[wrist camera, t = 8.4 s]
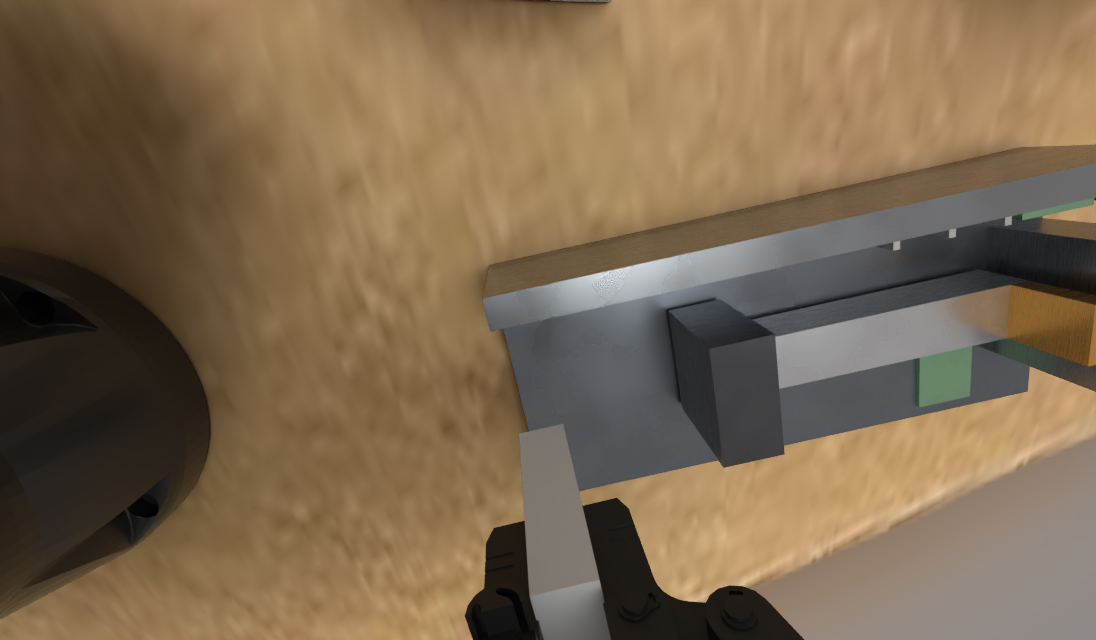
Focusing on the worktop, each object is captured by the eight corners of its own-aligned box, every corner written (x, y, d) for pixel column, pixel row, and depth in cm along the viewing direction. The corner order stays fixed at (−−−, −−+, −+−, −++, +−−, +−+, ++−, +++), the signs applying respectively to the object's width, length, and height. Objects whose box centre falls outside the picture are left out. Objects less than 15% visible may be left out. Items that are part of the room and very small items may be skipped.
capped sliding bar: (682, 408, 24) (730, 476, 19) (668, 310, 23) (715, 354, 17) (974, 343, 24) (1105, 393, 19) (979, 241, 23) (1122, 264, 17)
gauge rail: (544, 484, 27) (555, 594, 20) (489, 265, 23) (479, 306, 16) (1005, 381, 27) (1175, 455, 20) (1022, 147, 23) (1236, 139, 16)
